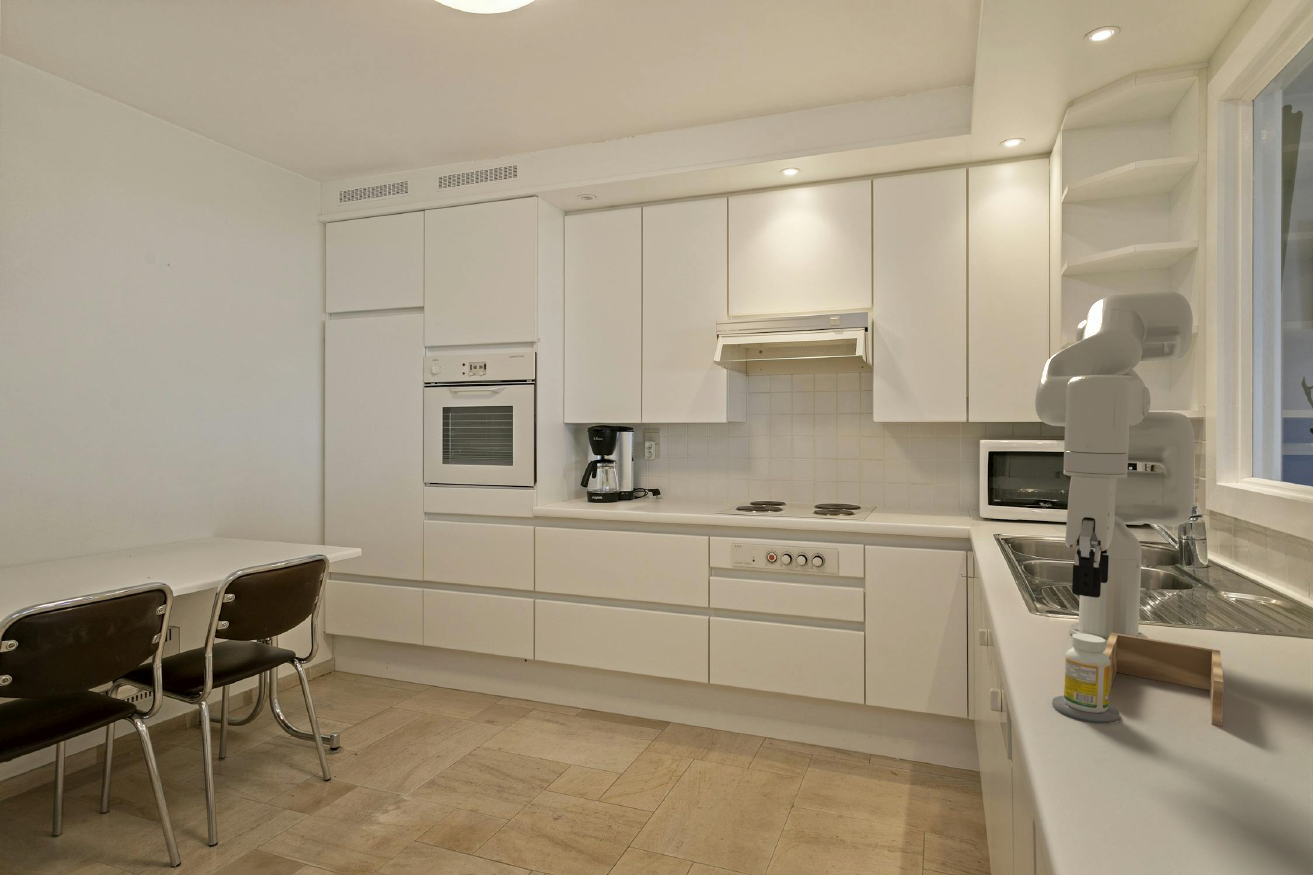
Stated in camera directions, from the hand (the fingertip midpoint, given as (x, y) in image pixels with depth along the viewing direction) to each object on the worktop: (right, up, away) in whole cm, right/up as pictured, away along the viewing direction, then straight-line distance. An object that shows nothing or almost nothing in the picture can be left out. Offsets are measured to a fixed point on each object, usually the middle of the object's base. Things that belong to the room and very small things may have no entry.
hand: (1090, 588), depth 100 cm
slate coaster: (-1, -17, 0) cm, 17 cm away
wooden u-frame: (+14, -17, +6) cm, 23 cm away
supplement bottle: (-1, -17, 0) cm, 17 cm away
